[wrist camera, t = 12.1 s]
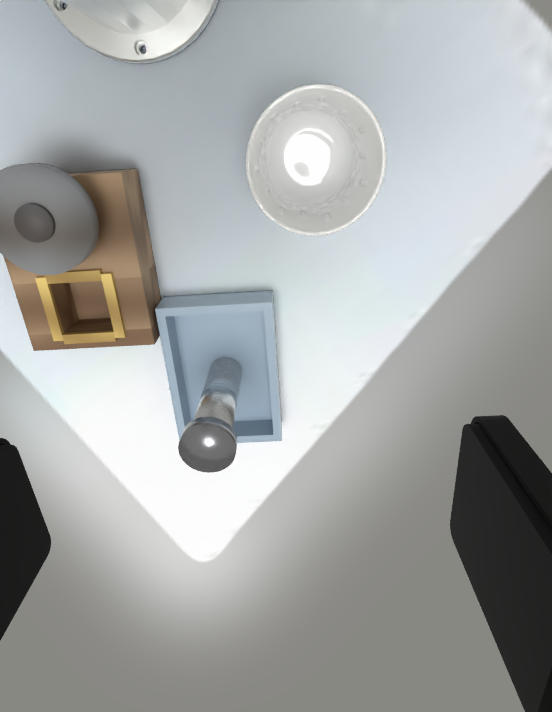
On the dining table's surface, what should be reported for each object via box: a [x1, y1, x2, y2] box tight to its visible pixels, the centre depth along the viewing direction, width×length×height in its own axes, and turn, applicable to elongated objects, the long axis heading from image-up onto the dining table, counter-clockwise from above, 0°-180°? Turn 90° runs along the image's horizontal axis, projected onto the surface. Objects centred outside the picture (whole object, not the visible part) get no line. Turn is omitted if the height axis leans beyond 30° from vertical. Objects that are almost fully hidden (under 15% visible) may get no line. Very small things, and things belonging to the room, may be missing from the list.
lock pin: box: [178, 357, 242, 472], centre depth 37 cm, size 4×4×11 cm
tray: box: [155, 290, 282, 443], centre depth 41 cm, size 13×9×3 cm
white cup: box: [246, 84, 386, 236], centre depth 30 cm, size 8×8×10 cm
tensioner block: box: [0, 163, 161, 351], centre depth 35 cm, size 14×10×8 cm
